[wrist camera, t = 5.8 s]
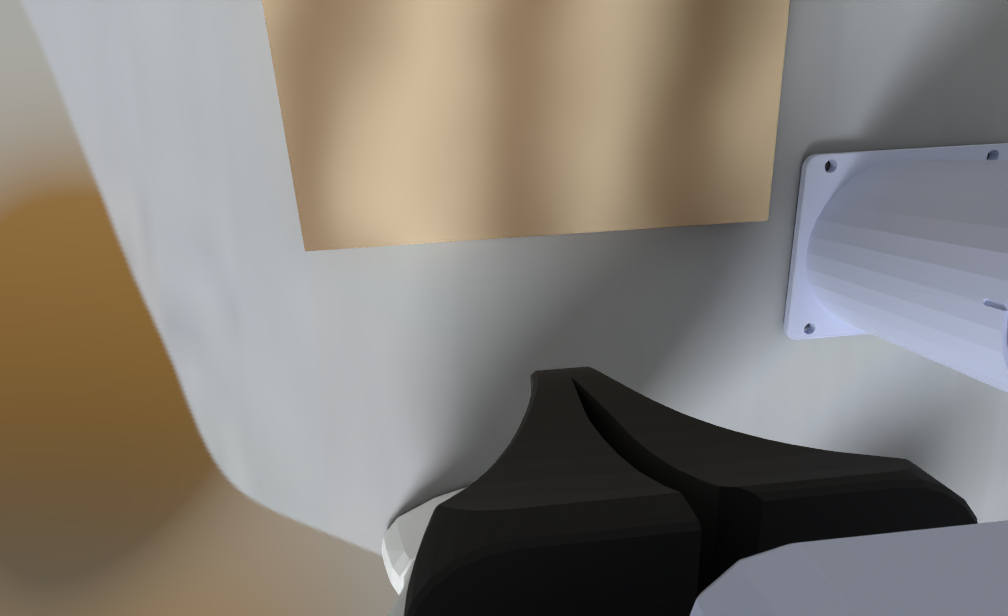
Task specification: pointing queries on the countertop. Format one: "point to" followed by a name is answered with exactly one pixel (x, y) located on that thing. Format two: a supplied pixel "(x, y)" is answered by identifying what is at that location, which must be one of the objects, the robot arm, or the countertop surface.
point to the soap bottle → (406, 547)
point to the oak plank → (525, 115)
